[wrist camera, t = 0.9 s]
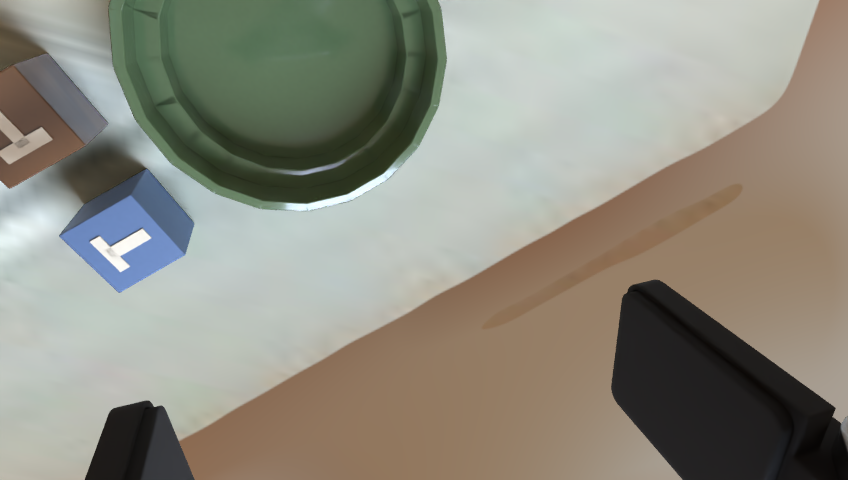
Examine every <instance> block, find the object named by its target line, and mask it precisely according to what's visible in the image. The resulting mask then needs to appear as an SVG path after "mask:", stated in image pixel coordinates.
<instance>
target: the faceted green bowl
mask: <svg viewBox="0 0 848 480" xmlns="http://www.w3.org/2000/svg"><path fill="white" fill-rule="evenodd" d="M108 12H109V25H110V37H111V49H112V62H113V67H114V71H115V73H116V75H117V78H118V80H119V83H120V85H121V87H122V90H123V92H124V94H125V97H126V99H127V102H128V104H129V106H130V109H131V111H132V114H133V116H134V118H135V120H136V122H137V123H138V124H139V126H140V127H141V128H142V129H143V130H144V132H145V133H146V134H147V135H148V136H149V138H150V139H151V140H152V141H153V142H154V144H155V145H156V146H157V147H158V149H159V150H160V151H161V152H162V153H163V155H164V156H165V157H166V158H167V159H168V161H169V162H170V163H171V164H172V165H174V166H175V167H177V168H178V169H180V170H181V171H183V172H184V173H185V174H187V175H188V176H190V177H191V178H193V179H194V180H196V181H197V182H199V183H200V184H201V185H203V186H204V187H206V188H207V189H209V190H210V191H212V192H213V193H215V194H218V195H221V196H223V197H226V198H229V199H232V200H235V201H238V202H241V203H244V204H247V205H250V206H253V207H256V208H259V209H270V210H290V211H311V210H315V209H319V208H323V207H328V206H332V205H336V204H340V203H344V202H349V201H351V200H353V199H355V198H357V197H358V196H360V195H362V194H364V193H365V192H367V191H369V190H371V189H372V188H374V187H376V186H378V185H379V184H381V183H383V182H384V181H386V180H388V179H389V178H390V177H391V176H392V175H393V174H394V173H395V172H396V171H397V170H398V168H399V167H400V166H401V165H402V164H403V163H404V162H405V161H406V160H407V159H408V158H409V157H410V156H411V155H412V154H413V153H414V151H415V150H416V149H417V148H418V147H419V145H420V143H421V141H422V139H423V137H424V135H425V133H426V131H427V129H428V127H429V125H430V123H431V121H432V119H433V117H434V115H435V113H436V111H437V109H438V106H439V102H440V96H441V90H442V85H443V79H444V73H445V68H446V62H447V60H446V59H447V55H446V46H445V37H444V28H443V19H442V10H441V7H440V4H439V2H438V0H110V3H109V8H108Z"/></svg>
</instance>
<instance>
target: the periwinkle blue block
mask: <svg viewBox="0 0 848 480" xmlns="http://www.w3.org/2000/svg"><path fill="white" fill-rule="evenodd" d="M193 227H194V222H193V221H192V220H191V219H190V218H189V217H188V216H187V214H186V213H185V212H184V211H183V210H182V209H181V207H180V206H179V205H178V204H177V203H176V202H175V200H174V199H173V198H172V197H171V196H170V195H169V193H168V192H167V191H166V190H165V189H164V188H163V186H162V185H161V184H160V183H159V182H158V181H157V179H156V178H155V177H154V176H153V175H152V174H151V173H150V171H149V170H148V169H145V170H143V171H142V172H140V173H138V174H136V175H135V176H133V177H131V178H129V179H128V180H126V181H124V182H122V183H121V184H119V185H117V186H115V187H114V188H112V189H110V190H108V191H107V192H105V193H103V194H101V195H100V196H98V197H96V198H94V199H93V200H91V201H89V202H87V203H86V204H84V205H83V206H82V208H81V209H80V210H79V211H78V213H77V214H76V215H75V216H74V218H73V219H72V220H71V221H70V223H69V224H68V225H67V226H66V228H65V229H64V230H63V231H62V232H61V234H60V235H59V237H60V238H61V239H63V240H64V241H65V242H66V243H67V244H68V245H69V246H70V247H71V248H72V249H73V250H74V251H75V252H76V253H77V254H78V255H79V256H81V257H82V258H83V259H84V260H85V261H86V262H87V263H88V264H89V265H90V266H91V267H92V268H93V269H94V270H95V271H96V272H97V273H98V274H100V275H101V276H102V277H103V278H104V279H105V280H106V281H107V282H108V283H109V284H110V285H111V286H112V287H113V288H114V289H115V290H116V291H118V292H119V293H120V292H122V291H123V290H125V289H127V288H129V287H130V286H132V285H134V284H136V283H137V282H139V281H141V280H143V279H144V278H146V277H148V276H149V275H151V274H153V273H155V272H156V271H158V270H160V269H162V268H163V267H165V266H167V265H169V264H170V263H172V262H174V261H176V260H177V259H179V258H181V257H182V256H184V255H185V254H186V251H187V247H188V244H189V240H190V237H191V233H192V230H193Z"/></svg>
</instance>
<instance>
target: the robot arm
mask: <svg viewBox="0 0 848 480" xmlns="http://www.w3.org/2000/svg"><path fill="white" fill-rule="evenodd" d="M611 389H612V393H613V396H614V399H615V401H616V402H617V404H618V405H619V406H620V407H621V408H622V410H623V411H624V412H625V413H626V414H627V415H628V416H629V418H630V419H631V420H632V421H633V422H634V424H635V425H636V426H637V427H638V428H639V429H640V430H641V432H642V433H643V434H644V435H645V436H646V437H647V439H648V440H649V441H650V442H651V443H652V444H653V446H654V447H655V448H656V449H657V450H658V451H659V453H660V454H661V455H662V456H663V457H664V458H665V460H666V461H667V462H668V463H669V464H670V465H671V467H672V468H673V469H674V470H675V471H676V472H677V474H678V475H679V476H680V477H681V478H682V479H683V480H848V416H847V417H846V418H845V419H844V421H843V422H842V424H841V423H840V422H839V421H837V420H836V419H835V418H833V417H832V416H833V414H834V411H835V407H834V406H832V405H831V404H829V403H828V402H827V401H825V400H824V399H823V398H821V397H820V396H819V395H817V394H816V393H814V392H813V391H812V390H810V389H809V388H808V387H806V386H805V385H803V384H802V383H800V382H799V381H798V380H796V379H795V378H794V377H792V376H791V375H790V374H788V373H787V372H786V371H784V370H783V369H781V368H780V367H779V366H777V365H776V364H775V363H773V362H772V361H770V360H769V359H768V358H766V357H765V356H764V355H762V354H761V353H759V352H758V351H757V350H755V349H754V348H752V347H751V346H750V345H748V344H747V343H746V342H744V341H743V340H741V339H740V338H739V337H737V336H736V335H735V334H733V333H732V332H731V331H729V330H728V329H726V328H725V327H724V326H722V325H721V324H720V323H718V322H717V321H715V320H714V319H713V318H711V317H710V316H708V315H707V314H706V313H704V312H703V311H702V310H700V309H699V308H698V307H696V306H695V305H693V304H692V303H691V302H689V301H688V300H687V299H685V298H684V297H682V296H681V295H680V294H678V293H677V292H676V291H674V290H673V289H671V288H670V287H669V286H667V285H666V284H665V283H663V282H661V281H660V280H651V281H647V282H643V283H639V284H635V285H632V286H630V287H629V289H628V292H627V293H626V294H624V296H623V298H622V305H621V312H620V320H619V329H618V337H617V345H616V353H615V361H614V369H613V378H612V386H611ZM85 480H194V477H193V475H192V473H191V470H190V468H189V465H188V463H187V460H186V458H185V456H184V453H183V451H182V448H181V446H180V444H179V441H178V439H177V436H176V434H175V432H174V429H173V427H172V424H171V422H170V420H169V417H168V415H167V412H166V410H165V408H164V407H163V406H157V407H154V406H153V405H152V403H151V402H150V401H142V402H138V403H134V404H130V405H126V406H121V407H117V408H113V409H112V410H111V411H110V413H109V415H108V417H107V420H106V423H105V426H104V428H103V431H102V434H101V437H100V439H99V442H98V445H97V448H96V450H95V453H94V456H93V459H92V461H91V464H90V467H89V470H88V472H87V475H86V478H85Z"/></svg>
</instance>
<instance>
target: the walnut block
mask: <svg viewBox="0 0 848 480" xmlns="http://www.w3.org/2000/svg"><path fill="white" fill-rule="evenodd" d="M107 125H108V123H107V122H106V120H105V119H104V118H103V117H102V116H101V115H100V113H99V112H98V111H97V110H96V109H95V108H94V106H93V105H92V104H91V103H90V102H89V101H88V99H87V98H86V97H85V96H84V95H83V94H82V93H81V91H80V90H79V89H78V88H77V87H76V86H75V84H74V83H73V82H72V81H71V80H70V79H69V77H68V76H67V75H66V74H65V73H64V72H63V70H62V69H61V68H60V67H59V66H58V65H57V63H56V62H55V61H54V60H53V59H52V58H51V57H50V55H49V54H47V53H46V54H43V55H40V56H37V57H34V58H31V59H28V60H25V61H22V62H19V63H16V64H13V65H11V66H9V67H7V68H5V69H4V70H2V71H0V181H2V182H3V183H4V184H5V185H6V186H7V187H8V188H9V189H10V188H13V187H14V186H16V185H18V184H20V183H21V182H23V181H25V180H27V179H28V178H30V177H32V176H34V175H35V174H37V173H39V172H41V171H42V170H44V169H46V168H48V167H49V166H51V165H53V164H55V163H56V162H58V161H60V160H62V159H63V158H65V157H67V156H69V155H70V154H72V153H74V152H76V151H77V150H79V149H81V148H83V147H84V146H86V145H87V144H88V143H89V142H90V141H91V140H92V139H93V138H94V137H96V136H97V135H98V134H99V133H100V132H101V131H102V130H103V129H104V128H105V127H106V126H107Z"/></svg>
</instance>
